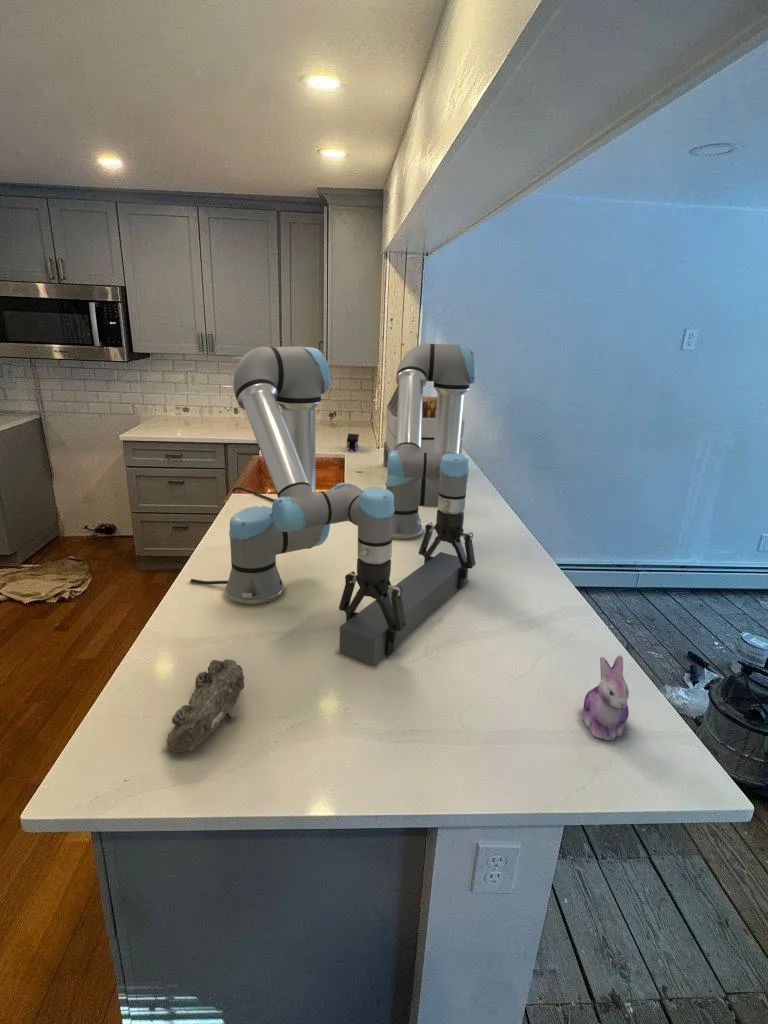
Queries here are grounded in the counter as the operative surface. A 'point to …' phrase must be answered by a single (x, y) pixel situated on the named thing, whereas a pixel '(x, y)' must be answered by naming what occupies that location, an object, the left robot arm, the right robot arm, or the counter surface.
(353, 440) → the figurine character
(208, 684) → the fossil
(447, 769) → the counter surface
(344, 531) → the counter surface
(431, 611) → the wide beam
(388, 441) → the transformer
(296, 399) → the left robot arm
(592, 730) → the figurine
